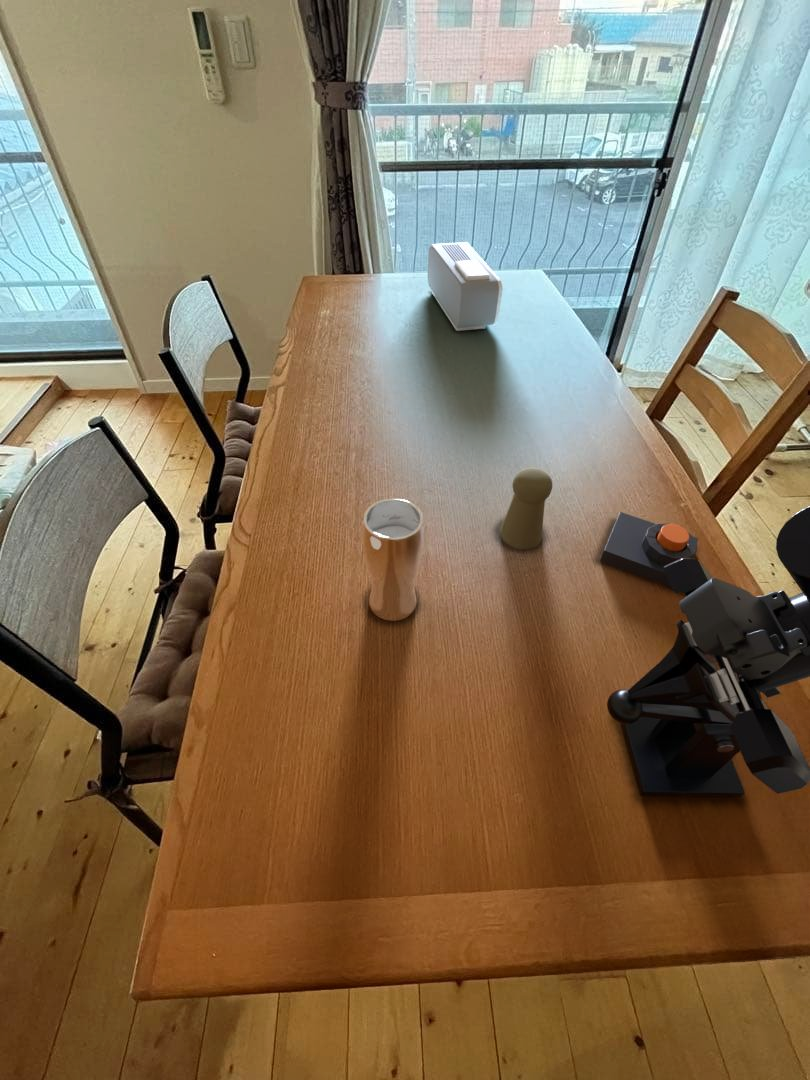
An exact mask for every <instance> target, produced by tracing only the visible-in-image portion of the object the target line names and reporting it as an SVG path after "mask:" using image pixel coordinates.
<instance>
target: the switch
mask: <svg viewBox="0 0 810 1080" xmlns="http://www.w3.org/2000/svg"><path fill="white" fill-rule="evenodd" d="M628 690H629V689H625V688H624V689H623V688H622V689H617V690H615V691H613V692H612V693H611V694H610V695H609V697H608V699H607V702H606V708H607V712H608V714H609V715H610V717H611V718H612V719H613V720H614V721H615V722H618V723H619V724H621V723H623V724H631V723H634V722H636V721H637V720H638V719H639V718H640V717H648V718H656V719H664V720H673V721H681V722H689V723H693V724H694V727H695V730H696V732H697V731H698V730H699V728H700V727H701V726H702V725H703V724H732V723H733V722H732V721H730V720H729V719H728V718H727V717H726V716H725V715H724V714H722V713H721V712H720V711H714V710H708V709H702V708H696V707H688V706H675V705H659V704H643V703H634V702H633V701H632V700H630V697H629V694H628Z"/></svg>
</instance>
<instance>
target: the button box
mask: <svg viewBox="0 0 810 1080" xmlns="http://www.w3.org/2000/svg"><path fill="white" fill-rule="evenodd" d="M667 524H668V523H654V522H652V521H649V520H647V519H643V518H640V517H637V516H634V515H631V514H629V513H625V512H622V511H619V513H618V515H617V518H616V521H615V522H614V525H613V527H612V530H611V532H610V534H609V537H608V540H607V542H606V545H605V547H604V549H603V552H602V554H601V557H600V559H599V562H601V563H604V564H607V565H609V566H611V567H614V568H617V569H620V570H623V571H626V572H628V573H630V574H633V575H635V576H638V577H641V578H644V579H647V580H650V581H652V582H654V583H657V584H660V585H662V586H665V587H667V588H670V589H672V587H671V585H670V583H669V580H668V578H667V575H666V573H665V571H664V566H666V565H668V564H670V563H672V562H674V561H677V560H679V559H681V558H690V559H695V556H696V554H697V548H698V543H699V538H698V537H695V536H693V535H692V534H691V533H689V532H688V534H689V540H688V542H687V544H686V546H685V547H684V549H683V550H681V551H679V552H672V551H669V550H666V549H664V548H663V547H661V546H660V545H659V544H658V542H657V537H658V534H659V532H660V530H661V528H662V527H663V526H665V525H667Z"/></svg>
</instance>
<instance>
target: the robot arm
mask: <svg viewBox="0 0 810 1080" xmlns="http://www.w3.org/2000/svg"><path fill="white" fill-rule="evenodd" d="M775 549H776V550H775V551H776V553H777V557H778V559H779V561H780V562H781V564H782V565H783V566H784V569H786V571H787V572H788V574H789V575H790V576H791V578H792V580H793V581H794V582H795V584H796V585H797V587H798V588H799V589H800V591H801V592H800V593H797V594H795V595H792V596H789V595H788V594H787V593H786V591H785V590H784V589H782V590H780V591H772V592H769V593H767V594H764V595H757V596H755V595H753V594H752V593H751V592H749V591H748V590H746V589H744V588H741V587H739V586H736V585H734V584H732V583H730V582H727V581H725V580H723V579H719V578H717V577H713V575H712V574H711V573H710V572H709V570H708V569H707V568H706V567H705V566H704V565H703V563H702V562H701V561H700V559H698V558H693V559H690V558H681V559H679V560H677V561H674V562H672V563H670V564H668V565H666V566H664V571H665V573H666V575H667V578H668V580H669V583H670V585H671V587H672V588H671V587H670V588H671V589H672V590H671V591H673V593H675V594H677V595H681V596H685V597H684V598H683V599H681V600H680V601H679V609H680V611H681V613H683V614H685V616H686V619H687V622H685V621H683V619H679V620H678V621H677V623H676V628H677V635H676V638H675V641H674V644H673V647H672V648H671V649H670V650H669V651H668V653H666V654H665V656H664V657H663V658H662V659H661V660H660V661H659V662H658V663H656V665H655V666H654V667H652V668H651V669H650V670H649V671H648V672H647V673H645V675H643V676H642V677H641V678H640V679H639V680H638V681H636V682H635V684H633V685H632V686H631V687H630V688H629V689H627V690H628V694H629V697H630V700H632V701H633V702H634V703H643V704H659V705H675V706H688V707H696V708H702V709H708V710H714V711H720V712H721V713H722V714H724V715H725V716H726V717H727V718H728V719H729V720H730V721H732V722H733V723H732V725H731V727H730V728H731V730H732V732H733V735H734V737H735V739H736V742H737V744H738V747H739V749H740V751H739V752H740V754H741V756H742V758H743V761H744V763H745V765H746V766H747V768H748V770H749V772H750V773H751V774H752V775H753V776H754V777H755V778H756V779H758V780H759V781H761V782H762V783H763V784H764V785H765V786H766V787H768V788H769V789H770V790H771V791H773V792H775V793H776V794H778V795H779V794H784V793H787V792H792V791H796V790H800V789H803V788H804V787H806V786H807V785H808V784H809V783H810V765H809V763H808V761H807V758H806V756H805V755H804V753H803V751H802V750H801V747H800V745H799V743H798V741H797V739H796V737H795V735H794V733H793V731H792V729H791V728H790V727H789V726H788V725H787V724H786V723H785V722H784V721H783V720H782V719H781V718H780V717H779V716H778V715H777V714H776V713H775V712H774V711H773V710H772V709H771V708H768V707H767V705H766V704H765V701H764V699H763V697H762V695H761V693H762V694H763V695H764V696H765V697H766V698H771V697H774V696H777V695H781V694H782V693H781V691H780V689H779V687H782V686H786V685H788V684H792V683H794V682H798V681H801V680H803V679H807V678H810V506H807V507H804V508H803V509H801V510H800V511H798V512H796V513H795V514H793V515H792V516H791V517H790V518H789V519H788V520H786V521H785V523H784V524H783V526H782V527H781V528H780V530H779V532H778V535H777V537H776V543H775ZM716 663H717V664H716ZM717 665H718V667H719V669H718V667H717Z"/></svg>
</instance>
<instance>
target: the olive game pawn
mask: <svg viewBox="0 0 810 1080" xmlns="http://www.w3.org/2000/svg"><path fill="white" fill-rule="evenodd" d="M552 490H553V480H552V478H551V476H550V475H549V473H548V472H547V471H545V470H543V469H541V468H538V467H525V468H523V469H520V471H518V472H517V473H516V474H515V476H514V477H513V480H512V492H513V496H512V498H511V502H510V504H509V506H508V509H507V511H506V514H505V516H504V519H503V522H502V525H501V527H500V528H499V537H500V538H501V539H502V541H503V542H504V543H505V544H506V545H508V546H510V547H512V548H515V549H518V550H528V549H533V548H536V547H537V546H538V545H539V544H540V543H541V540H542V539H543V526H544V517H545V516H544V515H545V506H546V505H545V504H546V500H547V499H549V497H550V495H551V493H552Z"/></svg>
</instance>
